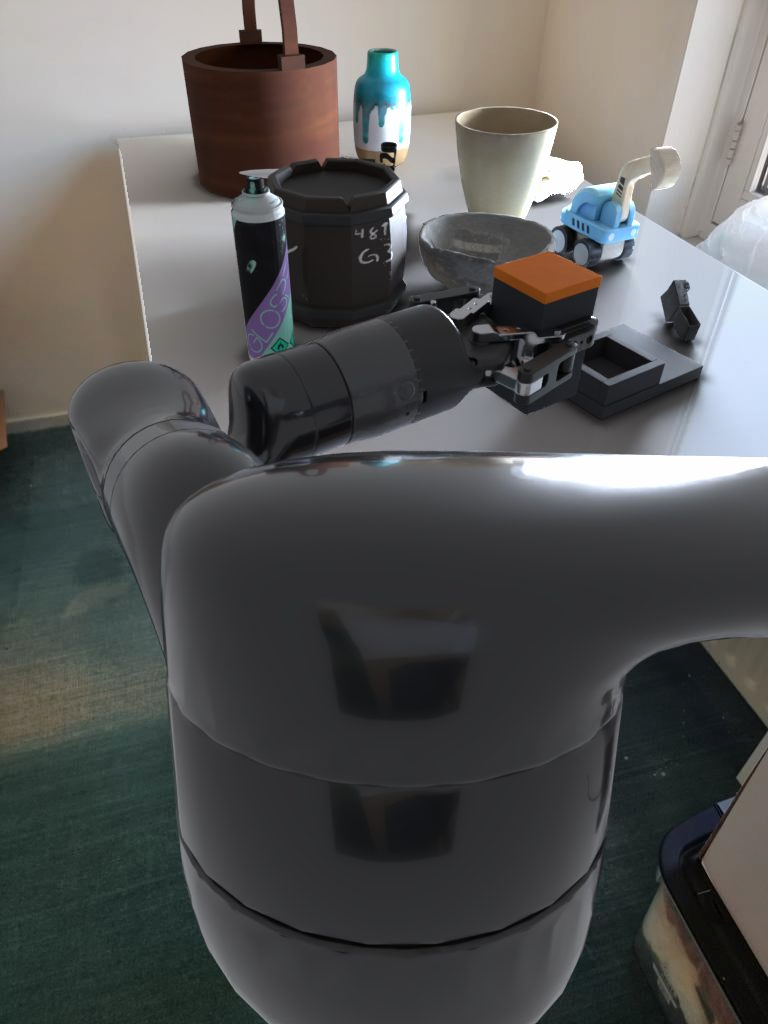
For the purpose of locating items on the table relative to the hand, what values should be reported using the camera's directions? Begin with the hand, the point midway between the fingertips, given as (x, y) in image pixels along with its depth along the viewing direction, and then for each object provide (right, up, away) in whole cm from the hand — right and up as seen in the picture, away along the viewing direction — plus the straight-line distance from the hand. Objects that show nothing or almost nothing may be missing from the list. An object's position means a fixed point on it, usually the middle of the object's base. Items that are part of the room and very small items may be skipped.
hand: (564, 313), depth 57 cm
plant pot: (+4, +30, +61) cm, 68 cm away
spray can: (-27, +3, +30) cm, 41 cm away
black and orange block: (-2, -5, +3) cm, 7 cm away
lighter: (+23, +8, +37) cm, 44 cm away
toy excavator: (+18, +21, +51) cm, 58 cm away
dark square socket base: (+12, +1, +28) cm, 30 cm away
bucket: (-35, +46, +79) cm, 98 cm away
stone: (+15, +44, +77) cm, 90 cm away
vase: (-14, +50, +84) cm, 99 cm away
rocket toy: (-23, +28, +58) cm, 68 cm away
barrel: (-20, +13, +41) cm, 48 cm away
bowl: (-1, +15, +44) cm, 47 cm away
